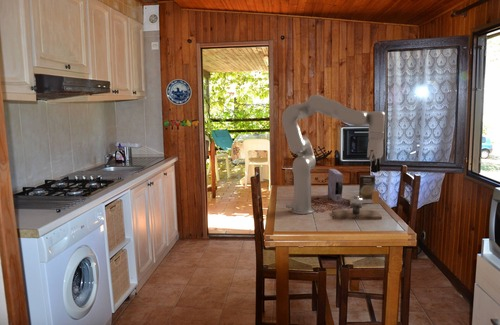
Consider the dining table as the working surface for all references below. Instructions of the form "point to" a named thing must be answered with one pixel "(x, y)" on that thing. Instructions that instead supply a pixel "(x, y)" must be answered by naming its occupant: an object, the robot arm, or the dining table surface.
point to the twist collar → (359, 200)
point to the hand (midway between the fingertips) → (375, 171)
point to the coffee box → (366, 186)
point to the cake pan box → (335, 185)
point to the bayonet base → (356, 214)
